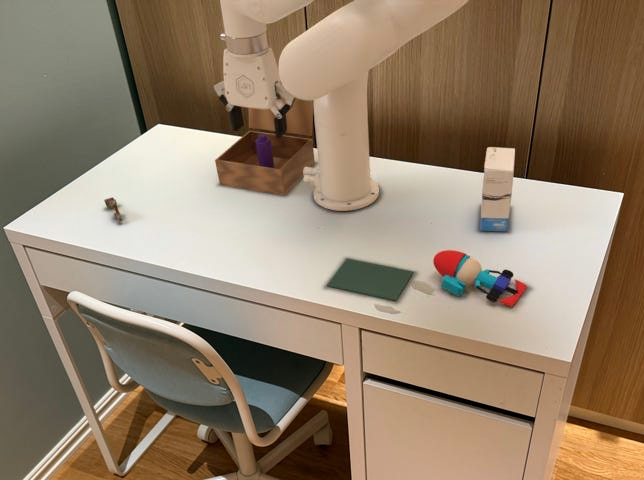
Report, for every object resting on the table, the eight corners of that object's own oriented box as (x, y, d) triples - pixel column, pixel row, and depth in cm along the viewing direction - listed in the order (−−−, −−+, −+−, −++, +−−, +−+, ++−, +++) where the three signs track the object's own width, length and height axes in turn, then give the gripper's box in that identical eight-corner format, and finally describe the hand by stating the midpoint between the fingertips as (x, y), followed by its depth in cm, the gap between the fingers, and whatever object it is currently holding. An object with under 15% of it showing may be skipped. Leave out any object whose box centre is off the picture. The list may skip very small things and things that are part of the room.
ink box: (508, 232, 123) (514, 170, 115) (479, 231, 124) (483, 169, 116) (509, 207, 129) (515, 146, 122) (481, 206, 130) (485, 145, 123)
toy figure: (526, 291, 113) (441, 255, 118) (533, 269, 109) (446, 233, 114) (507, 321, 109) (420, 283, 114) (514, 299, 105) (424, 260, 110)
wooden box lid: (248, 93, 146) (248, 93, 146) (248, 127, 149) (249, 127, 149) (312, 100, 140) (313, 100, 141) (311, 136, 144) (312, 135, 144)
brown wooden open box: (219, 184, 144) (214, 160, 140) (253, 154, 153) (249, 130, 149) (284, 195, 139) (280, 170, 135) (315, 163, 148) (312, 139, 144)
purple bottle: (257, 174, 145) (251, 137, 140) (264, 167, 147) (259, 131, 142) (270, 176, 144) (265, 139, 139) (277, 169, 146) (272, 132, 141)
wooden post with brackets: (116, 223, 134) (108, 199, 132) (111, 221, 141) (103, 198, 139) (126, 220, 134) (117, 196, 133) (120, 218, 142) (112, 196, 140)
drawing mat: (327, 286, 116) (326, 284, 116) (346, 259, 121) (346, 258, 121) (396, 301, 112) (395, 299, 111) (413, 273, 117) (413, 271, 117)
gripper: (195, 44, 129) (212, 134, 141) (279, 54, 123) (289, 146, 135) (217, 30, 134) (231, 118, 145) (299, 39, 128) (307, 129, 140)
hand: (259, 131), depth 140 cm, fingers open, 9 cm apart
